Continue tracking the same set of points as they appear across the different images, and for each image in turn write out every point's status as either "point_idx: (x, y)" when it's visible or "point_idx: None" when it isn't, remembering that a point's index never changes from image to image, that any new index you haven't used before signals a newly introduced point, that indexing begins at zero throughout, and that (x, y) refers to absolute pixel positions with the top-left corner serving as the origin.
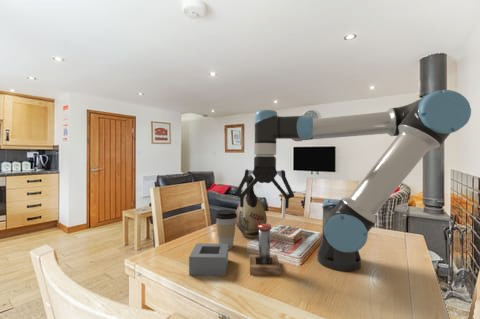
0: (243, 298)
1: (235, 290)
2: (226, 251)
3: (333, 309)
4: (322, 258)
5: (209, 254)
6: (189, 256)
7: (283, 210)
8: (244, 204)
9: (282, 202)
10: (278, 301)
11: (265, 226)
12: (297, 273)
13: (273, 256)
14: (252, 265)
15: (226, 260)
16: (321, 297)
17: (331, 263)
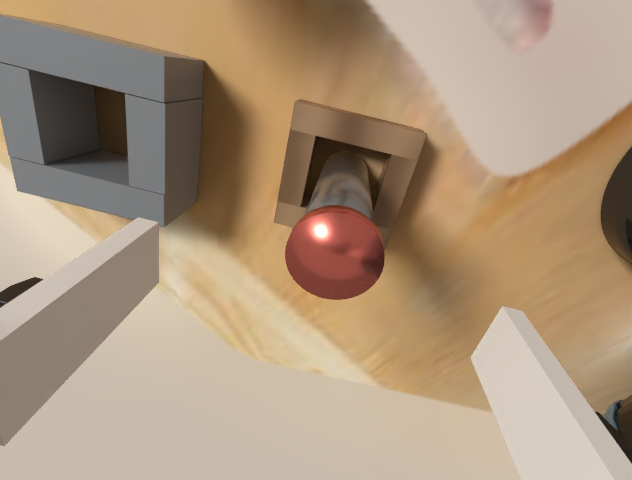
0: (243, 313)
1: (225, 281)
2: (161, 166)
3: (430, 386)
4: (622, 211)
5: (92, 184)
6: (17, 186)
7: (500, 421)
8: (60, 367)
9: (572, 465)
10: (322, 340)
11: (332, 281)
12: (449, 238)
13: (403, 147)
14: (284, 212)
15: (178, 186)
16: (434, 352)
17: (621, 248)
